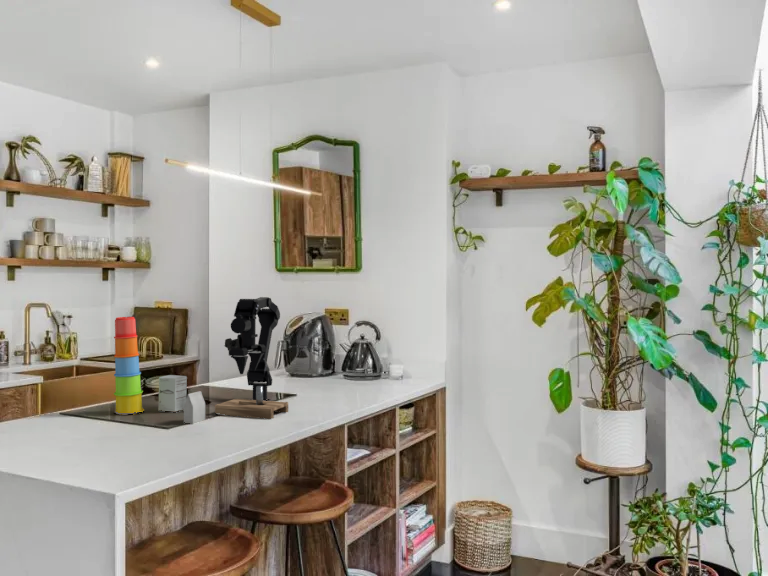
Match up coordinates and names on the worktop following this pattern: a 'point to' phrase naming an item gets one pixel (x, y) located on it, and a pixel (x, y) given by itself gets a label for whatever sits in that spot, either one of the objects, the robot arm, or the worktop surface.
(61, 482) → the worktop surface
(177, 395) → the supplement box
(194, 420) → the grey gabled carton
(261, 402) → the tee peg
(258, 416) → the keyhole board
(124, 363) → the stacking cups
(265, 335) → the robot arm
